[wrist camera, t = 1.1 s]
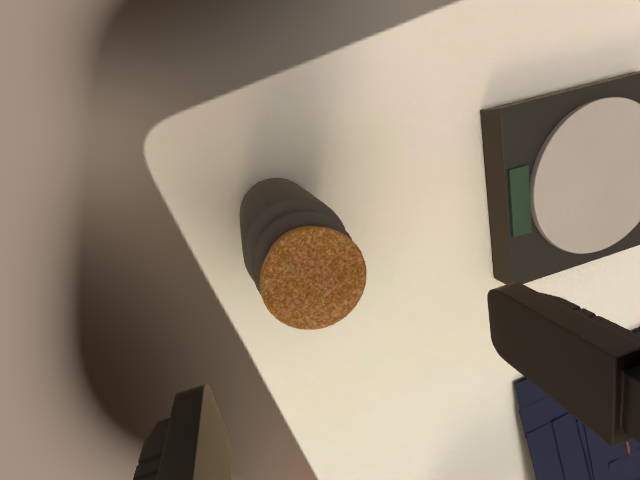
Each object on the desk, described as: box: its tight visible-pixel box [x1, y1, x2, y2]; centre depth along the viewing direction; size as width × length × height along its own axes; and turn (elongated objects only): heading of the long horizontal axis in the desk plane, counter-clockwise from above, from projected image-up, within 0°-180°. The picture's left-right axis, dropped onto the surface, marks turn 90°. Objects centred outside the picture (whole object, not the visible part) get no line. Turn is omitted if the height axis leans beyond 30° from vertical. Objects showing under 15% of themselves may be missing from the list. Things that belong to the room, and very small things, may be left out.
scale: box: [480, 71, 640, 285], centre depth 34 cm, size 16×16×3 cm
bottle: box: [240, 178, 366, 330], centre depth 23 cm, size 6×6×15 cm
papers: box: [515, 331, 640, 480], centre depth 46 cm, size 24×30×4 cm
